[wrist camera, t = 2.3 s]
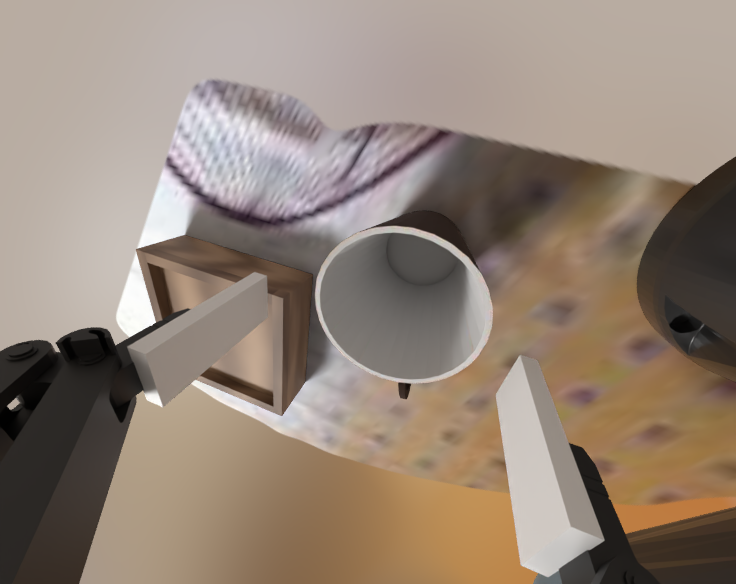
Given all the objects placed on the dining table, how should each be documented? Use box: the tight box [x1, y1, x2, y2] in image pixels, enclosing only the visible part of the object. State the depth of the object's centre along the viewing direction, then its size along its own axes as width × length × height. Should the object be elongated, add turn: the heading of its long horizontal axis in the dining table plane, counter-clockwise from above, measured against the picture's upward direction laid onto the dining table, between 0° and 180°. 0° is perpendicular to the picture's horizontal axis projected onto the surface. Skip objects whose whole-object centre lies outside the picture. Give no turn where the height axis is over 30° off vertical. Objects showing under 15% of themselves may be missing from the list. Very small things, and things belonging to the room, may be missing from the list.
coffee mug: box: [315, 211, 493, 399], centre depth 18 cm, size 12×9×10 cm
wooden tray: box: [136, 235, 313, 416], centre depth 29 cm, size 15×15×5 cm
